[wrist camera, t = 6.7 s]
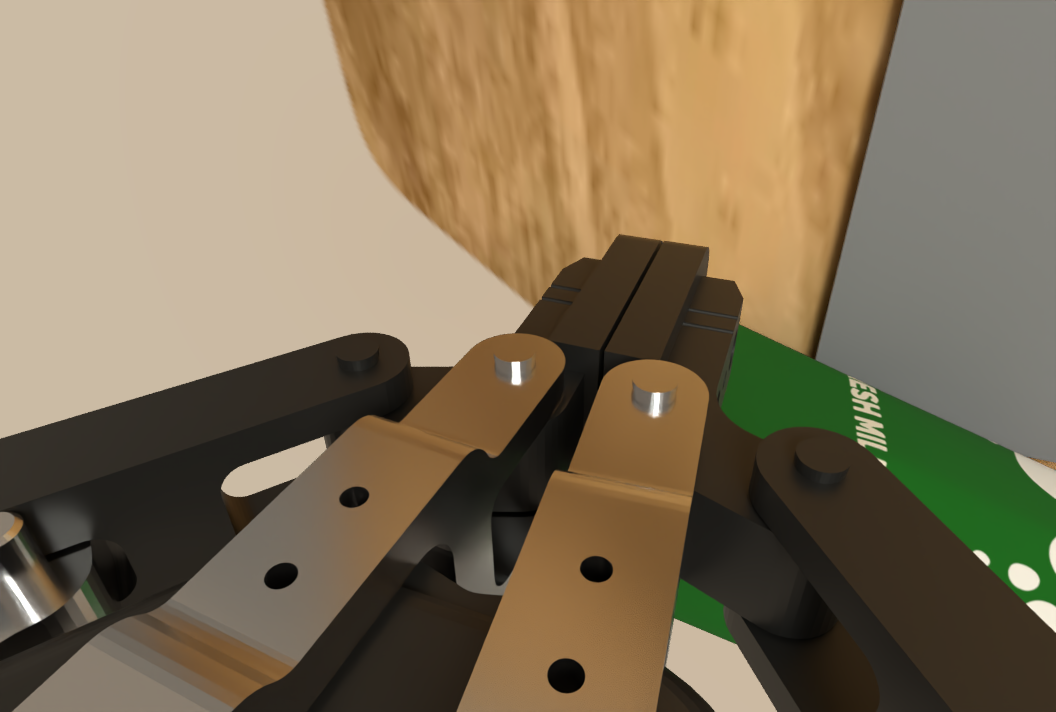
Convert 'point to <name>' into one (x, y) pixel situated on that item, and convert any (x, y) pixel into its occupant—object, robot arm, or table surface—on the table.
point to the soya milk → (901, 467)
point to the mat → (958, 225)
